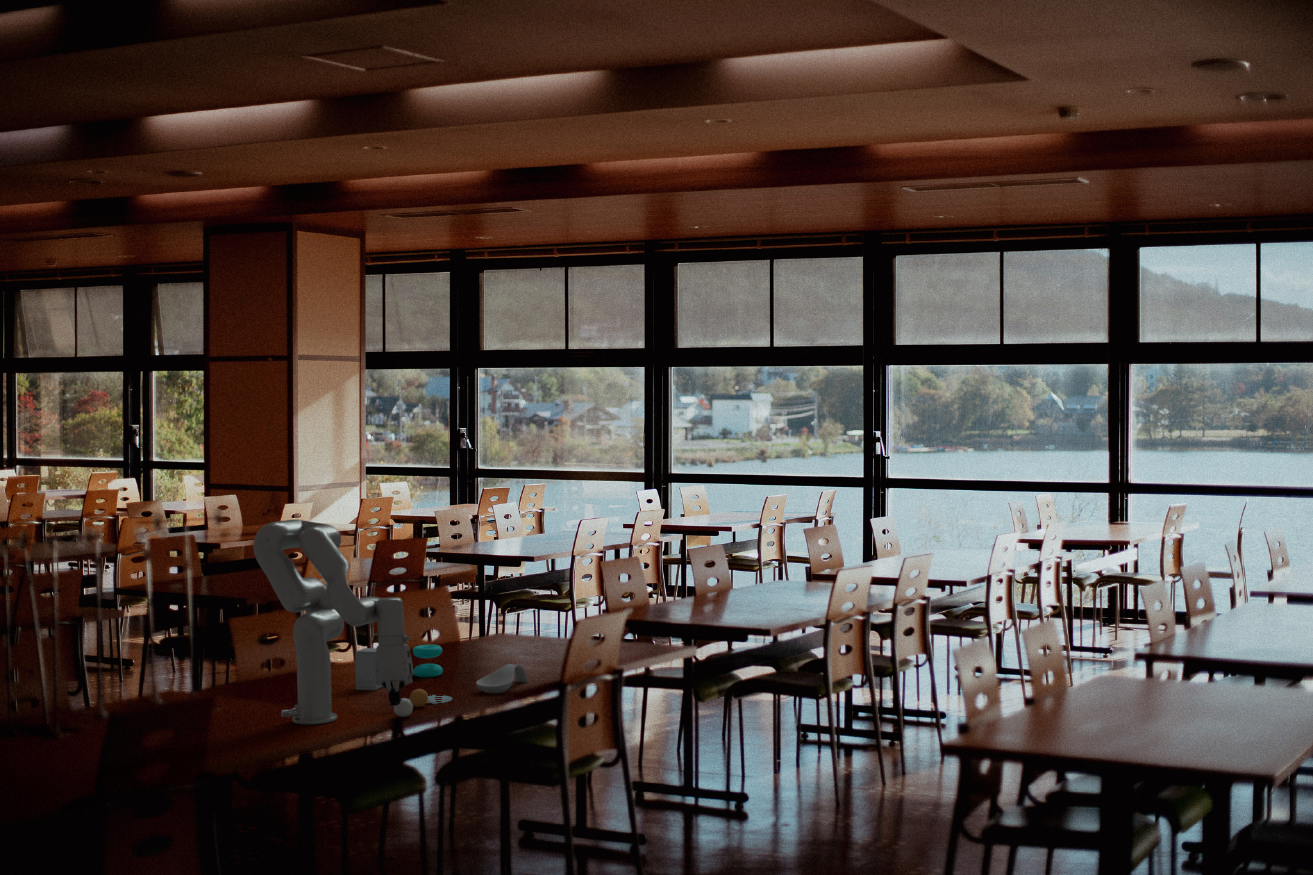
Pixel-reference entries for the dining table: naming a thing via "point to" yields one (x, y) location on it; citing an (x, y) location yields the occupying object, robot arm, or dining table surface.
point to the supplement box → (365, 669)
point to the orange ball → (419, 697)
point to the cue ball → (404, 708)
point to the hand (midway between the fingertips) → (395, 704)
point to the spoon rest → (502, 679)
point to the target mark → (433, 701)
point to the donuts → (427, 669)
